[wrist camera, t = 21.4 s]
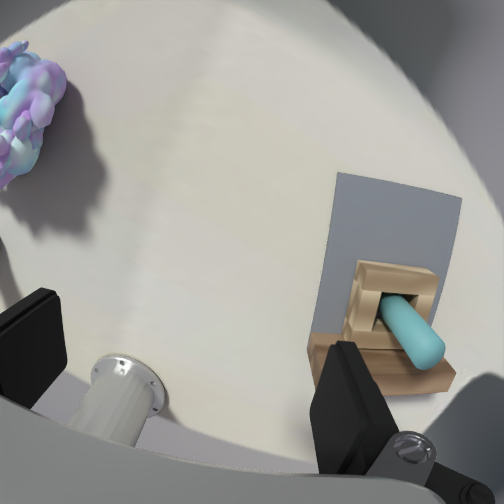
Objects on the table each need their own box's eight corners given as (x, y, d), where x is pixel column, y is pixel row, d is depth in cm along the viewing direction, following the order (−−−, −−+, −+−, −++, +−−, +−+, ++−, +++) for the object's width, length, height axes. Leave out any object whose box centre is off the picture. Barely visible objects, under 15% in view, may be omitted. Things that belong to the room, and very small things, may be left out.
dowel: (393, 310, 40) (437, 369, 27) (369, 309, 40) (408, 370, 27) (399, 285, 39) (450, 338, 26) (375, 283, 39) (420, 338, 26)
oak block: (406, 335, 41) (417, 349, 37) (341, 332, 41) (348, 347, 37) (425, 267, 38) (439, 277, 34) (357, 259, 38) (367, 269, 34)
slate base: (419, 353, 43) (421, 354, 42) (306, 349, 43) (307, 351, 42) (460, 197, 36) (462, 197, 36) (337, 172, 36) (338, 172, 36)
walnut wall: (421, 354, 42) (447, 391, 33) (307, 351, 42) (316, 395, 33) (427, 337, 41) (456, 372, 32) (311, 331, 41) (322, 374, 32)
